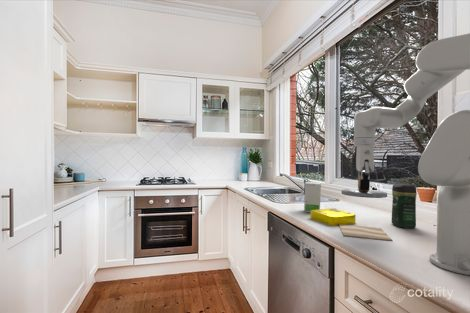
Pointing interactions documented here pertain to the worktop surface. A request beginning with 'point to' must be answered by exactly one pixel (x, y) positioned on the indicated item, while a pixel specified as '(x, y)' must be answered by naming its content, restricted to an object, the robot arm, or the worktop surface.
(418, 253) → the worktop surface
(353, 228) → the mat
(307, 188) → the skincare box
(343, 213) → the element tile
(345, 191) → the lid
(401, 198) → the coffee jar
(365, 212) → the worktop surface
